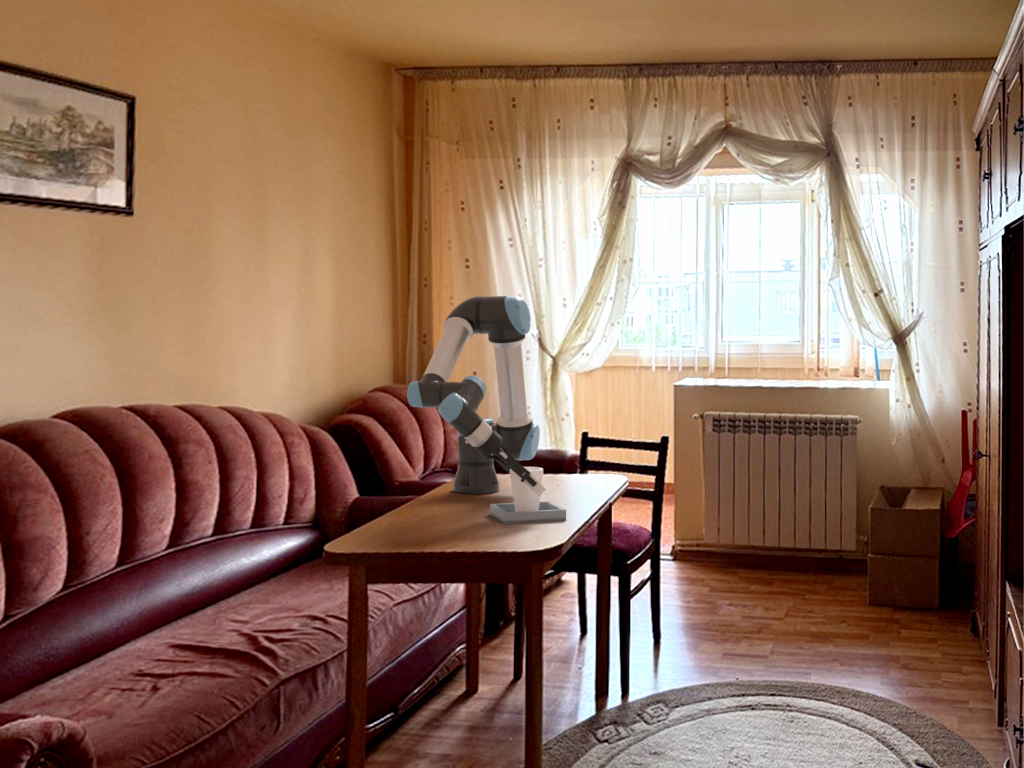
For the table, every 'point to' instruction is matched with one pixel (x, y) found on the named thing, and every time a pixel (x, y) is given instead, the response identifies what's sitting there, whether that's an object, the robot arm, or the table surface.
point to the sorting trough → (527, 513)
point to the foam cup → (525, 491)
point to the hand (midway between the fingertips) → (535, 489)
